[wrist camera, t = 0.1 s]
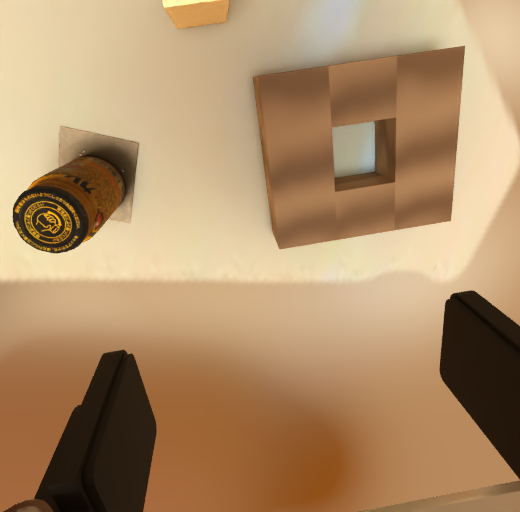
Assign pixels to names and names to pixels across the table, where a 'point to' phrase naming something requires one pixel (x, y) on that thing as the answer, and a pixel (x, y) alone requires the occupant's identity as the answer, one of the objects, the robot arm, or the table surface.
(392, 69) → the socket block
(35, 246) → the condiment
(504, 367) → the robot arm
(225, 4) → the square peg
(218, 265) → the table surface
